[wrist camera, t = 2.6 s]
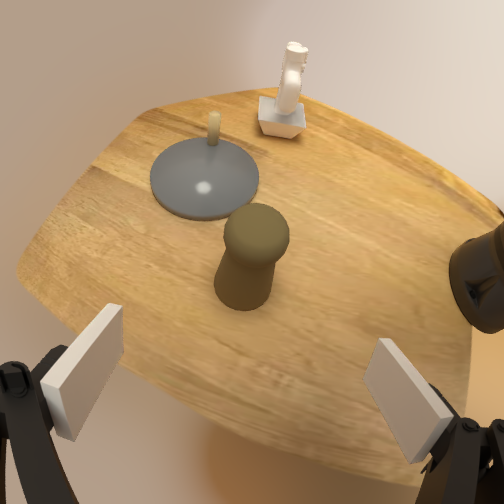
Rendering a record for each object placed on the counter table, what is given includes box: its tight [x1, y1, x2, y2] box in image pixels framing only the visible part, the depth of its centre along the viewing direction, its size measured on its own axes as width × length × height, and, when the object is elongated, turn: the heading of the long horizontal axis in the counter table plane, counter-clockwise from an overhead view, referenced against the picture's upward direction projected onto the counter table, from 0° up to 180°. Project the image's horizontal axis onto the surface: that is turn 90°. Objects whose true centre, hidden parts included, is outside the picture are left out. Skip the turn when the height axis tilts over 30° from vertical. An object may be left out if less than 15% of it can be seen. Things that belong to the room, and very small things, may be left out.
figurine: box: [258, 42, 308, 139], centre depth 40 cm, size 7×9×15 cm
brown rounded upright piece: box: [214, 203, 289, 311], centre depth 27 cm, size 6×6×11 cm
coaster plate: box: [150, 111, 259, 221], centre depth 36 cm, size 14×14×6 cm
